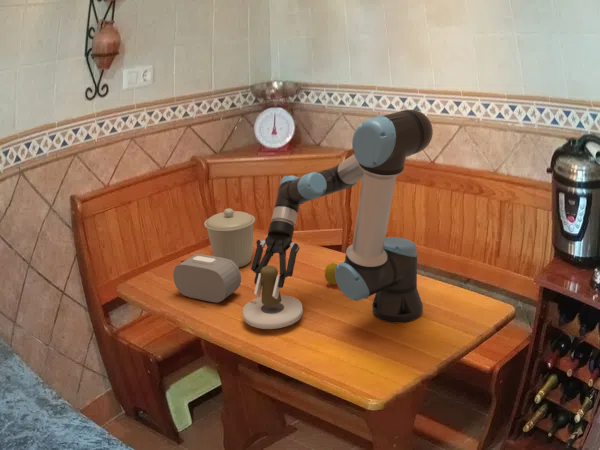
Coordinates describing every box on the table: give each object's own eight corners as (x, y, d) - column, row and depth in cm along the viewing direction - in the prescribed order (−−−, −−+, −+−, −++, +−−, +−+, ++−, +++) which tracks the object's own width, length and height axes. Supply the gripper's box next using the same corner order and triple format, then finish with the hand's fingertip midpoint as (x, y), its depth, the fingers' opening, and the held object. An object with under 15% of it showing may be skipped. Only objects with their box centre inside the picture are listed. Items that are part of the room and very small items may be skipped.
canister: (209, 255, 256) (203, 203, 248) (257, 251, 257) (252, 198, 250) (208, 275, 239) (202, 219, 231) (260, 270, 240) (255, 214, 233)
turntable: (314, 308, 207) (313, 301, 206) (278, 334, 193) (278, 327, 193) (267, 295, 217) (267, 289, 216) (231, 319, 204) (230, 312, 203)
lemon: (338, 280, 229) (337, 258, 226) (344, 286, 224) (343, 264, 221) (322, 283, 228) (321, 261, 225) (328, 289, 223) (327, 267, 220)
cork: (278, 305, 200) (276, 272, 196) (259, 304, 202) (256, 271, 198) (283, 296, 206) (280, 263, 202) (264, 295, 207) (261, 262, 203)
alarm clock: (243, 294, 224) (239, 257, 219) (227, 307, 216) (223, 268, 211) (193, 284, 233) (188, 248, 228) (176, 296, 225) (170, 259, 221)
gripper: (313, 231, 208) (298, 303, 200) (259, 227, 214) (242, 297, 206) (307, 221, 201) (290, 295, 193) (251, 217, 208) (233, 288, 199)
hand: (265, 296), depth 199 cm, fingers closed on cork, 5 cm apart
